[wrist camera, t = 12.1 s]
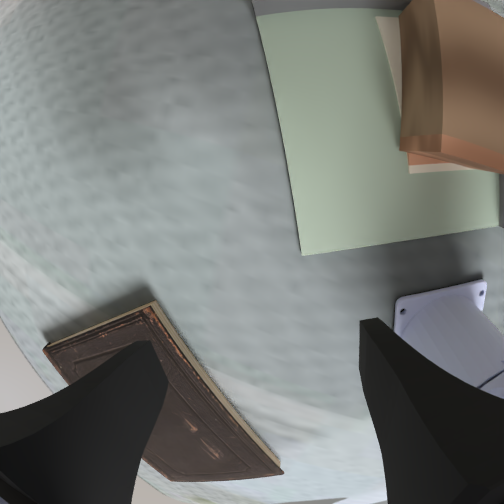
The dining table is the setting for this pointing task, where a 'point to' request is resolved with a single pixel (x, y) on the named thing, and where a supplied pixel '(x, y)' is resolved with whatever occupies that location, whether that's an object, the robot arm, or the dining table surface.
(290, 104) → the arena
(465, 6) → the walnut block
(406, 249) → the dining table surface
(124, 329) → the hardcover book
